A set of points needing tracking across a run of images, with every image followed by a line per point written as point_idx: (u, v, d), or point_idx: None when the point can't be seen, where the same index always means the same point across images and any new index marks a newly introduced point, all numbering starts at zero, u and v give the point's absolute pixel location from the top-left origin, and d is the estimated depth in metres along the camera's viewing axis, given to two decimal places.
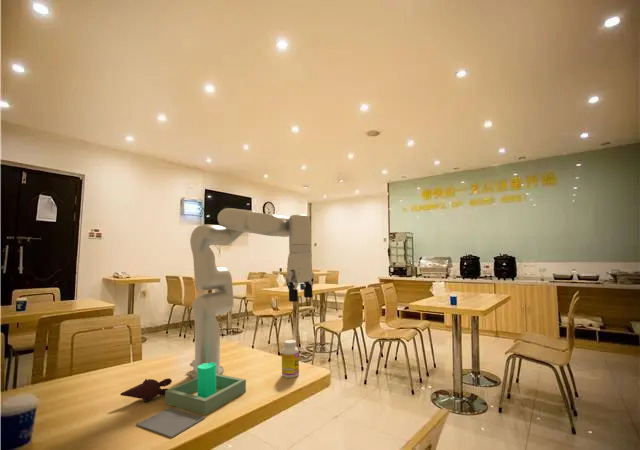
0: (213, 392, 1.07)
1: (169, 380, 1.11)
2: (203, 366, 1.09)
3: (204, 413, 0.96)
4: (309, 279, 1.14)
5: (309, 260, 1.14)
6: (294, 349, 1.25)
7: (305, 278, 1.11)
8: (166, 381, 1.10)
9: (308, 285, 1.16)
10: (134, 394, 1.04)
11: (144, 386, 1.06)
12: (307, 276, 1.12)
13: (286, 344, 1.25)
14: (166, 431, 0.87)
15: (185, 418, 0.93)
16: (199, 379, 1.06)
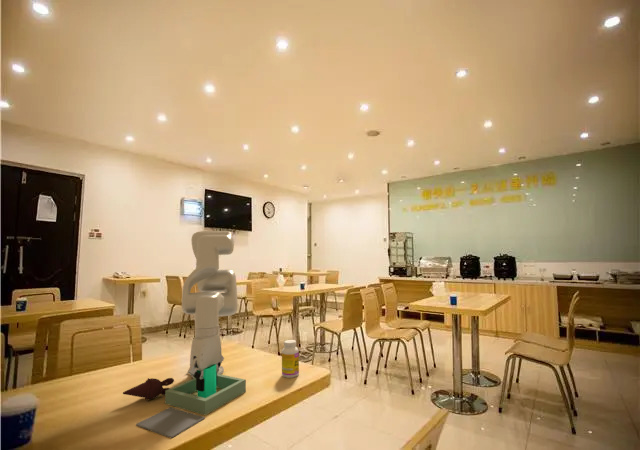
0: (213, 392, 1.07)
1: (171, 379, 1.11)
2: None
3: (204, 413, 0.96)
4: (217, 361, 1.10)
5: (217, 342, 1.10)
6: (294, 349, 1.25)
7: (210, 362, 1.08)
8: (168, 380, 1.10)
9: None
10: (136, 393, 1.05)
11: (146, 385, 1.06)
12: (213, 360, 1.09)
13: (286, 344, 1.25)
14: (166, 431, 0.87)
15: (185, 418, 0.93)
16: None
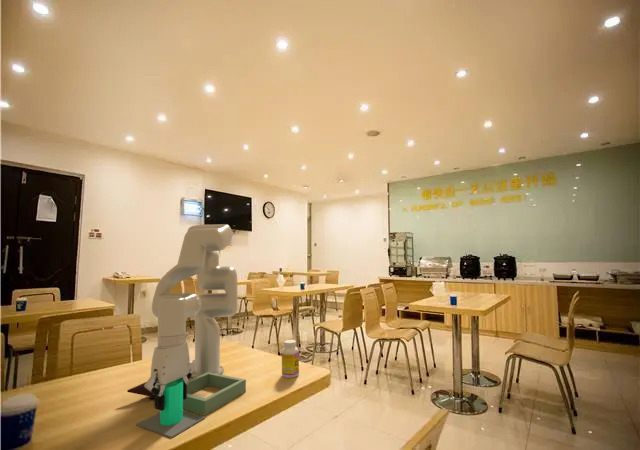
0: (178, 414, 0.92)
1: None
2: (168, 383, 0.94)
3: (204, 413, 0.96)
4: (183, 375, 0.95)
5: (184, 352, 0.95)
6: (294, 349, 1.25)
7: (175, 376, 0.92)
8: None
9: None
10: (140, 392, 1.06)
11: None
12: (179, 372, 0.93)
13: (286, 344, 1.25)
14: (166, 431, 0.87)
15: (185, 418, 0.93)
16: None
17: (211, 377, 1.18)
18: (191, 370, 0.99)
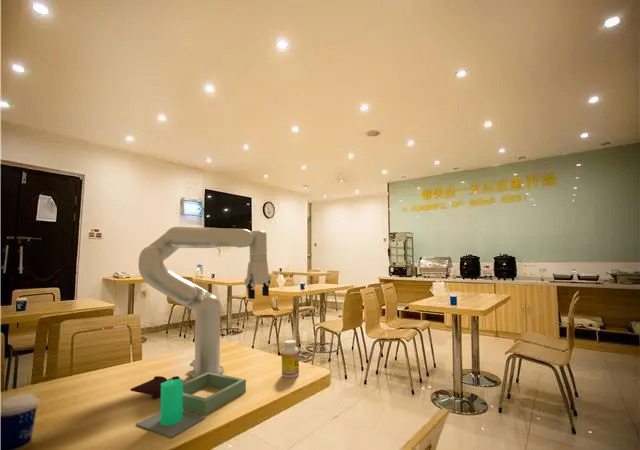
0: (178, 414, 0.92)
1: (177, 378, 1.12)
2: (168, 383, 0.94)
3: (204, 413, 0.96)
4: (265, 281, 1.45)
5: (265, 266, 1.45)
6: (294, 349, 1.25)
7: (261, 280, 1.42)
8: (174, 379, 1.12)
9: (265, 286, 1.47)
10: (143, 390, 1.07)
11: (153, 383, 1.08)
12: (263, 279, 1.43)
13: (286, 344, 1.25)
14: (166, 431, 0.87)
15: (185, 418, 0.93)
16: (162, 399, 0.91)
17: (211, 377, 1.18)
18: (269, 279, 1.50)
